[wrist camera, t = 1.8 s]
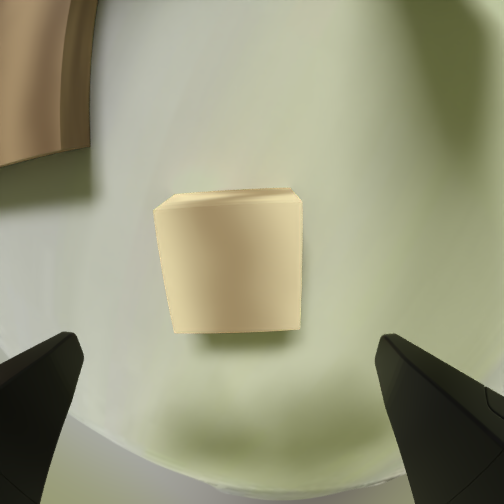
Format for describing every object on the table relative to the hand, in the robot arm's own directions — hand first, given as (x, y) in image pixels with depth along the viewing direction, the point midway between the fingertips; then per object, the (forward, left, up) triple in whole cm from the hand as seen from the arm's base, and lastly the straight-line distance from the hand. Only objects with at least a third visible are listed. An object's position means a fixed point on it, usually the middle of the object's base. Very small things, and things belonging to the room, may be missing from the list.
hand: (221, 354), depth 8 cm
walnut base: (+15, -14, -9) cm, 22 cm away
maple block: (0, 0, -9) cm, 9 cm away
